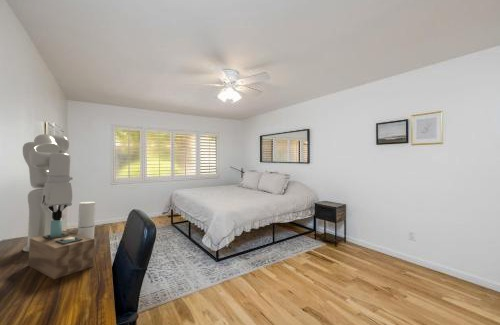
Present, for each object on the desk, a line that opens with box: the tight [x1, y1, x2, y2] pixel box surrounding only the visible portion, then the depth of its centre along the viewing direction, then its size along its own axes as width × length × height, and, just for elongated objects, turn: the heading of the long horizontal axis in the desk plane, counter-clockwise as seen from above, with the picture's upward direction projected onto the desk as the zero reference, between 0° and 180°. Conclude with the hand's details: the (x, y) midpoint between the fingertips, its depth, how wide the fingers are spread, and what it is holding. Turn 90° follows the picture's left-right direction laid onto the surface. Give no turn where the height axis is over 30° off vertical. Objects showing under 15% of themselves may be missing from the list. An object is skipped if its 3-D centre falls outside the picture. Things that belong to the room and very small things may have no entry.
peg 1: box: [50, 218, 63, 238], centre depth 103 cm, size 4×4×12 cm
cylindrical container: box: [77, 201, 97, 240], centre depth 121 cm, size 7×7×25 cm
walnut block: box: [27, 230, 95, 280], centre depth 100 cm, size 14×24×12 cm, turn 62°
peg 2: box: [63, 237, 75, 242], centre depth 97 cm, size 4×4×12 cm
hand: (56, 220), depth 103 cm, fingers closed
